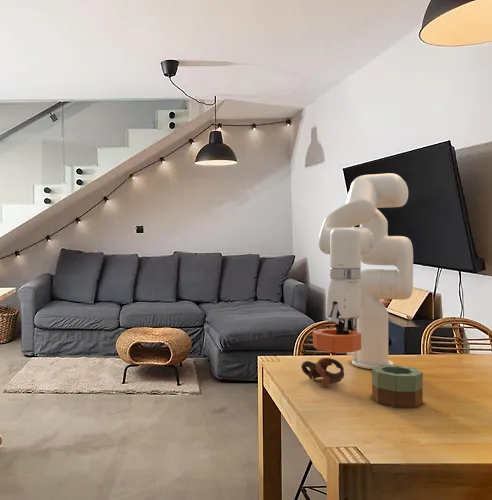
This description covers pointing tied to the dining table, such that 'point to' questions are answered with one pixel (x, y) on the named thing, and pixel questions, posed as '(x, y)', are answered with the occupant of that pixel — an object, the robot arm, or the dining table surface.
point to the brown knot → (323, 371)
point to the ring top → (336, 340)
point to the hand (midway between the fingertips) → (345, 343)
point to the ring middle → (397, 378)
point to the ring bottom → (397, 397)
